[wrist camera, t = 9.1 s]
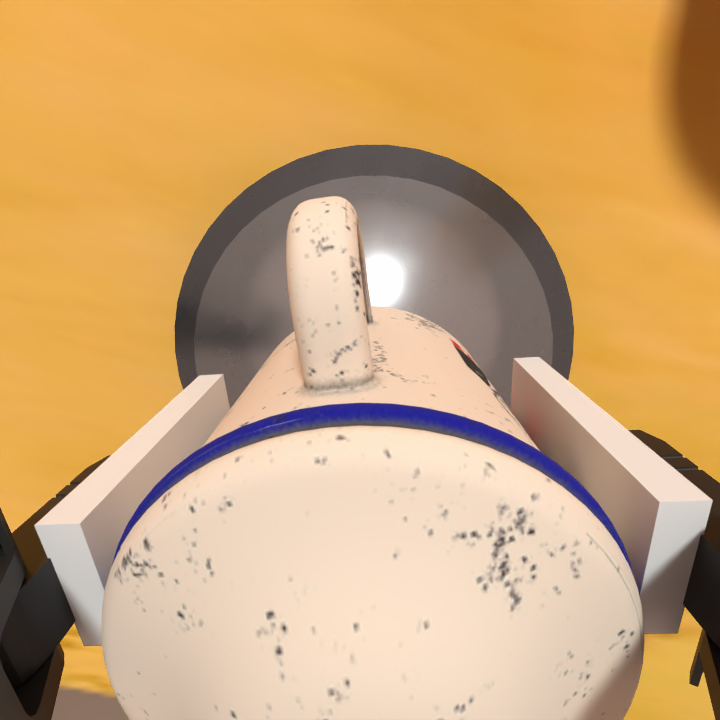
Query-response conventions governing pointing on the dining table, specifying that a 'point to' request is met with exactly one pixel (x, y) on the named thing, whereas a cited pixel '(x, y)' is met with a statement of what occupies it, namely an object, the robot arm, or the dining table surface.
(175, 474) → the teacup with lid
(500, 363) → the dark gray round plate
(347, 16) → the dining table surface
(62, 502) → the robot arm
